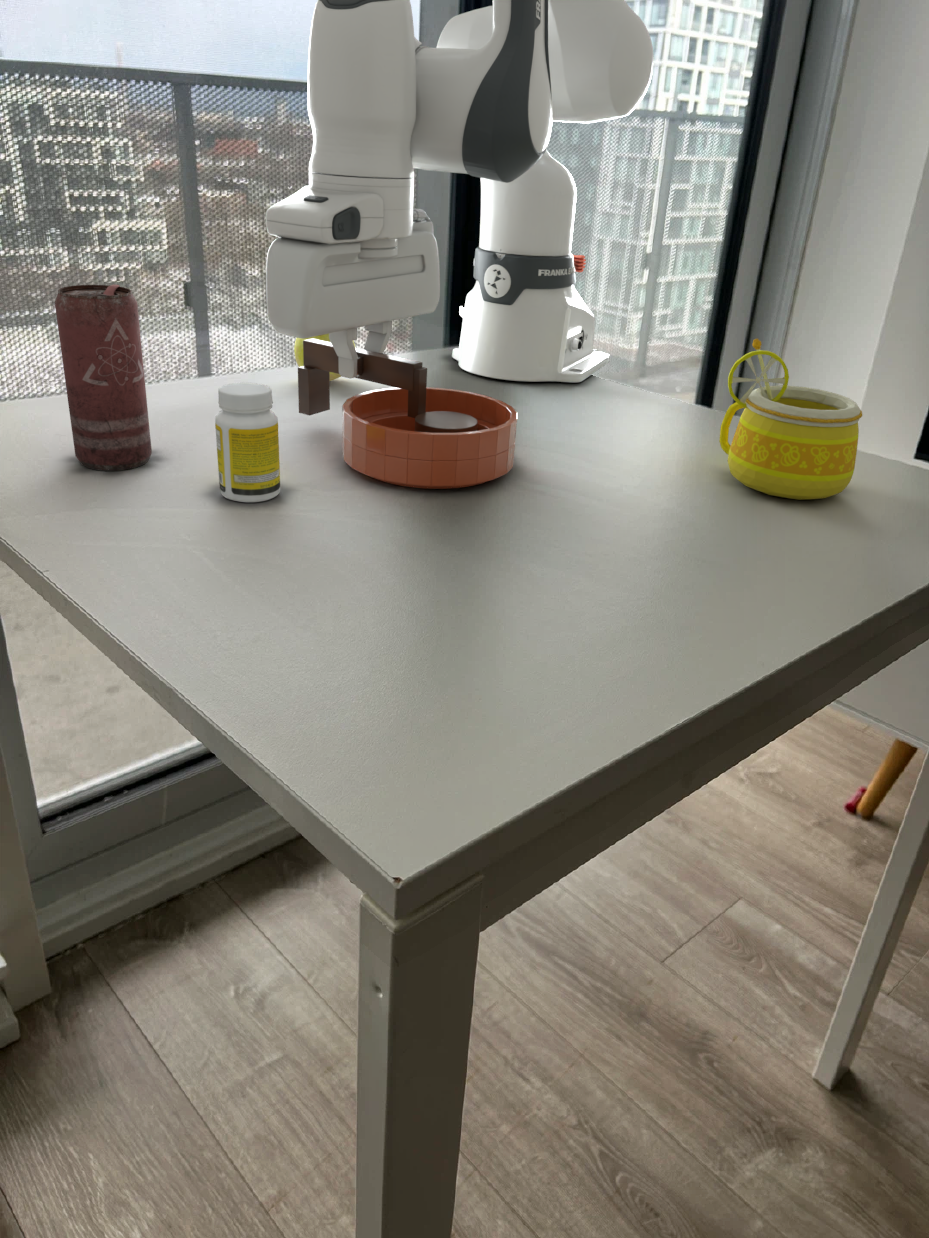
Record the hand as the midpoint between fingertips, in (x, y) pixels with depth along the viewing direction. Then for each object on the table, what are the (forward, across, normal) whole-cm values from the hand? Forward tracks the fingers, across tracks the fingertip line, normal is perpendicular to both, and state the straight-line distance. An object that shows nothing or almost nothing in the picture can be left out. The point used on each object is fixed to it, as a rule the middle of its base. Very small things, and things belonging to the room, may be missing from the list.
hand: (360, 374), depth 87 cm
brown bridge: (+5, 0, +3) cm, 6 cm away
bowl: (+6, +2, +9) cm, 11 cm away
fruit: (+6, -14, -17) cm, 23 cm away
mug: (+6, -16, +35) cm, 39 cm away
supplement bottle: (+6, +18, +3) cm, 19 cm away
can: (+6, +20, -11) cm, 23 cm away
